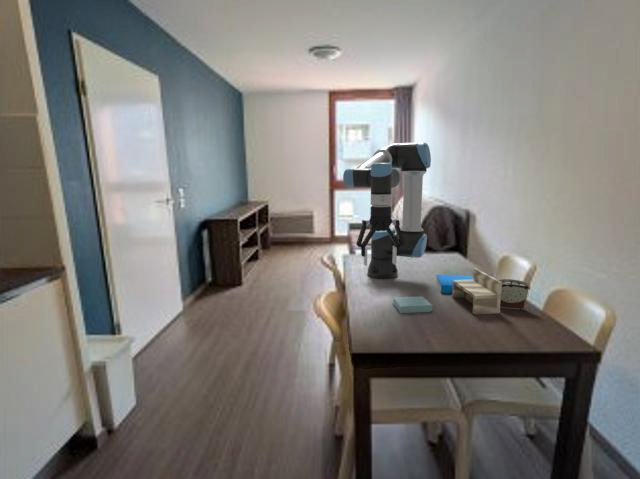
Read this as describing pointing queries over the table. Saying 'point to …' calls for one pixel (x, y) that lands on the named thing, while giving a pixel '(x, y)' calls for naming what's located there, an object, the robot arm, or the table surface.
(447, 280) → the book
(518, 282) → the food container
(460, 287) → the shelf
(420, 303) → the teal square tile
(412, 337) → the table surface
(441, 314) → the table surface
